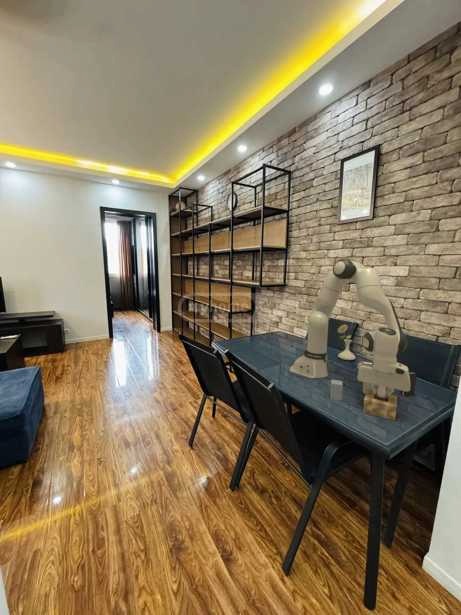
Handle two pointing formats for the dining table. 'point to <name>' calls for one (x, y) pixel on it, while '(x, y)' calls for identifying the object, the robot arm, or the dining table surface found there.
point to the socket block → (380, 405)
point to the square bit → (336, 390)
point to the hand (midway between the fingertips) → (381, 394)
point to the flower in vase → (346, 353)
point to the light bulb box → (367, 386)
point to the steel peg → (381, 392)
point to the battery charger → (411, 384)
